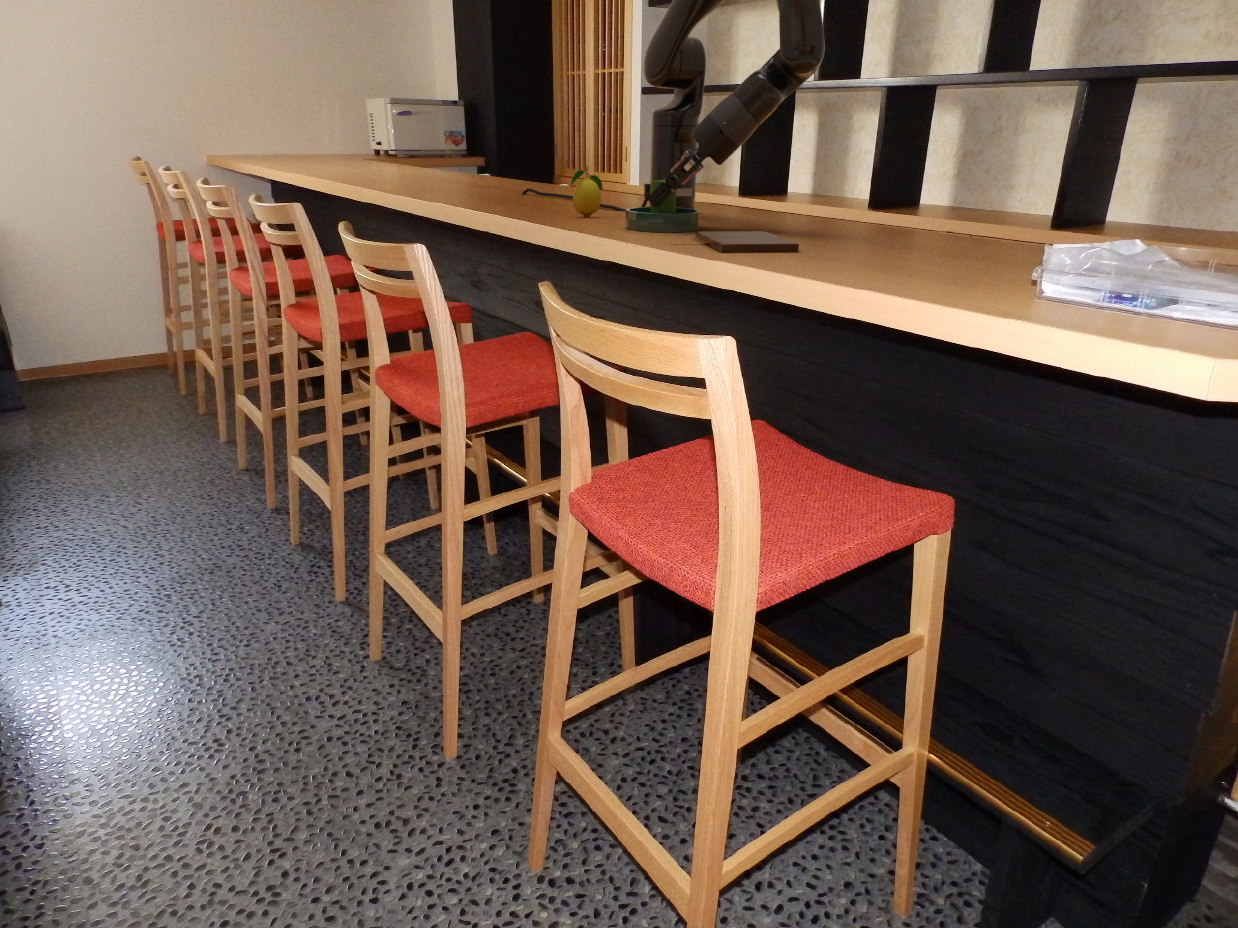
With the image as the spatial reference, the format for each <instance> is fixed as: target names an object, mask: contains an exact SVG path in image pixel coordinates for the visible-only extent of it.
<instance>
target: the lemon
mask: <svg viewBox="0 0 1238 928" xmlns="http://www.w3.org/2000/svg"><path fill="white" fill-rule="evenodd" d="M588 169H589V167H588V165H586V169H585V170H582V169H579V170H576V171H575V172H574V174H573V176H572V178H571V181H570V184H571V185H572V184H574V183H575V182H576V181H577V180H578V179H579V178H581V177H582V176H583V175H584V174H585V177H584V179H581V180H580V181H578V183H577V184H576V186H575V187H574V190H573V194H572V196H573V199H572V205H573V208H574V210H575V212H577V213H578V214H580V215H582V216H583V217H584V218H590V217H591V216H592V215H594V214H595V213H597V212H598V211H599V209H600V208H601V207H600V204H602V203H601V201H602V195H601V194H602V193H601V191H603V183H602V180H601V179H600V178H599V176H597V175H594V174H589V173H588Z"/></svg>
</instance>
